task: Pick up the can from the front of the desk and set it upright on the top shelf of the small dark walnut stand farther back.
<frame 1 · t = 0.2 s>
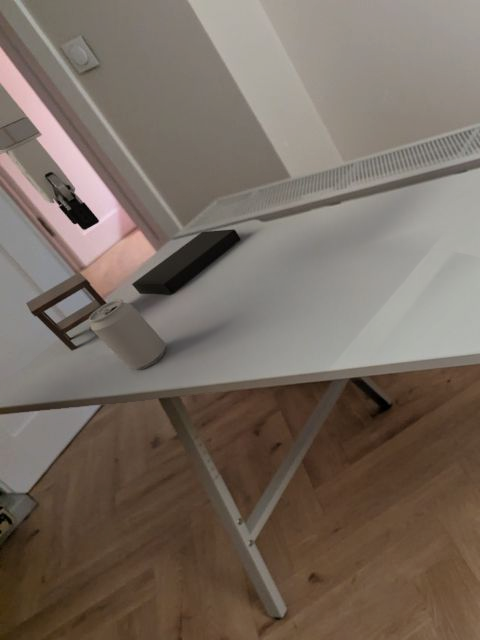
hand: (86, 223, 104), 22 cm above the table, tool pointing down, fingers open, 9 cm apart
stand: (93, 329, 123), on the table
can: (150, 359, 102), on the table
external hard drive: (192, 266, 134), on the table
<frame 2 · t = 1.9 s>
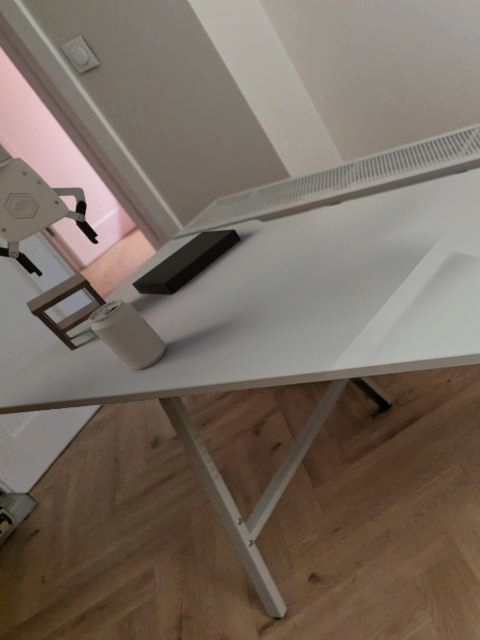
hand: (68, 258, 91), 21 cm above the table, tool pointing down, fingers open, 9 cm apart
nothing on the table moved.
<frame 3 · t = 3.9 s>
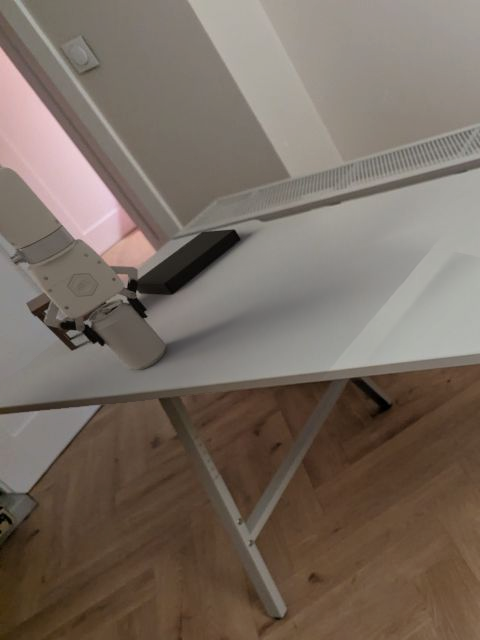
hand: (123, 329, 97), 7 cm above the table, tool pointing down, fingers closed on can, 7 cm apart
can: (150, 359, 102), on the table, touching gripper
everything else where it was.
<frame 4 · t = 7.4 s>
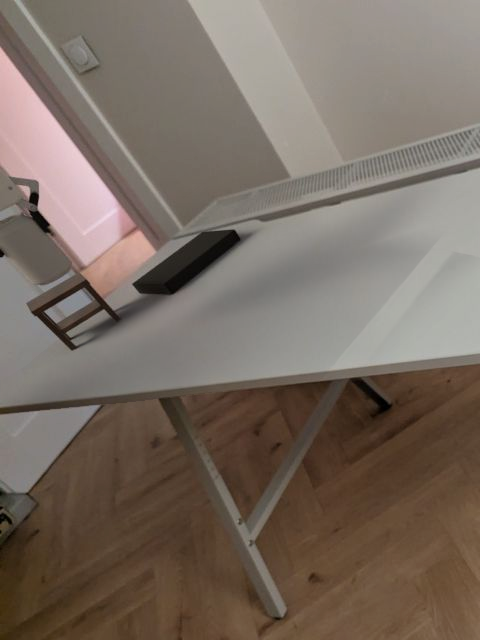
hand: (25, 243, 97), 24 cm above the table, tool pointing down, fingers closed on can, 7 cm apart
can: (56, 277, 101), point 17 cm above the table, touching gripper
everything else where it was.
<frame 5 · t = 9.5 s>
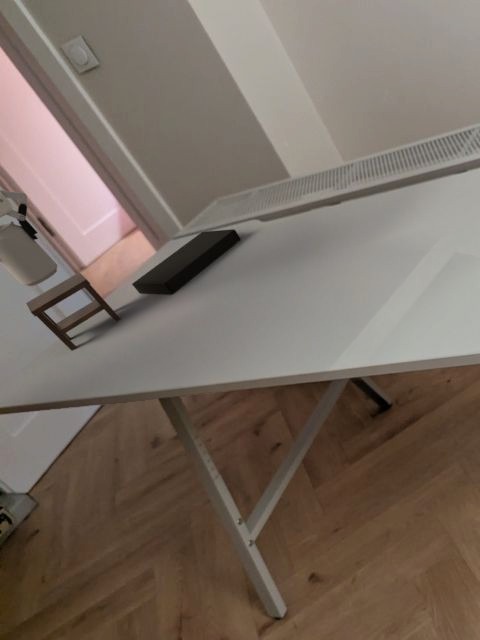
hand: (15, 248, 110), 22 cm above the table, tool pointing down, fingers closed on can, 7 cm apart
can: (43, 278, 114), point 14 cm above the table, touching gripper
everything else where it was.
when the fingers open (18 cm above the table, at t = 11.1 s): can stays where it is, resting on stand.
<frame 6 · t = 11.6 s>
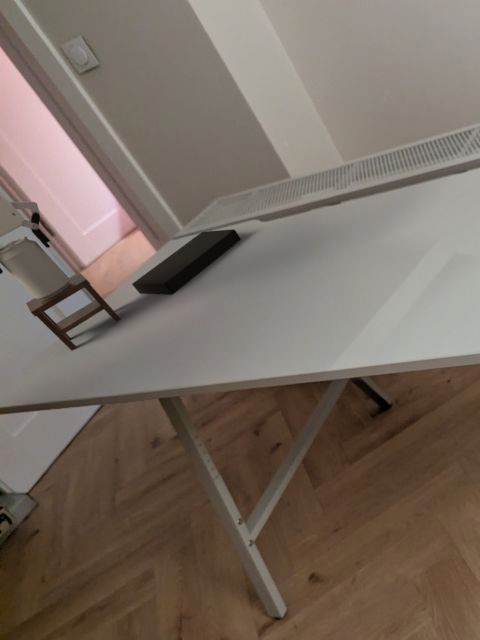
hand: (25, 259, 111), 19 cm above the table, tool pointing down, fingers open, 9 cm apart
can: (56, 292, 116), point 11 cm above the table, touching stand
everything else where it was.
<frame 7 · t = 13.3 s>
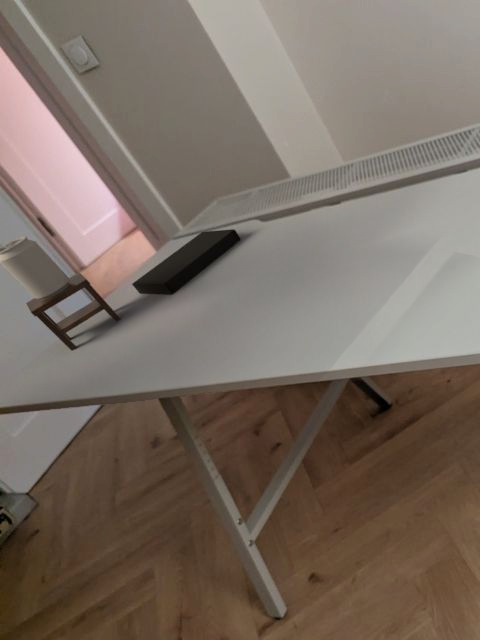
nothing on the table moved.
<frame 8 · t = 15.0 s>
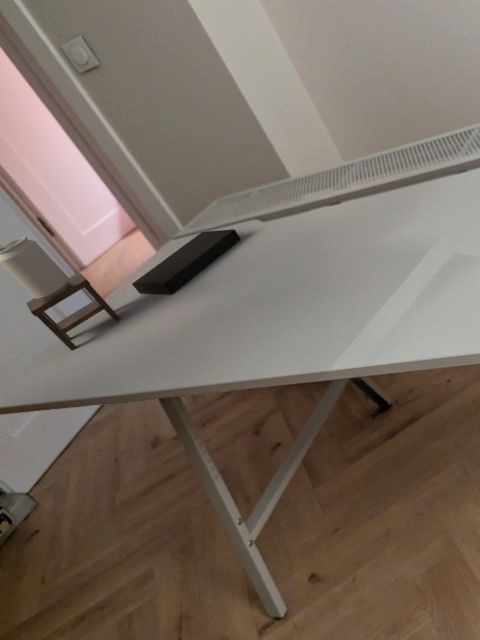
nothing on the table moved.
at the end: can 0.1 cm off-centre on the stand, point 10.8 cm above the stand's base; can tilted 0° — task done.
